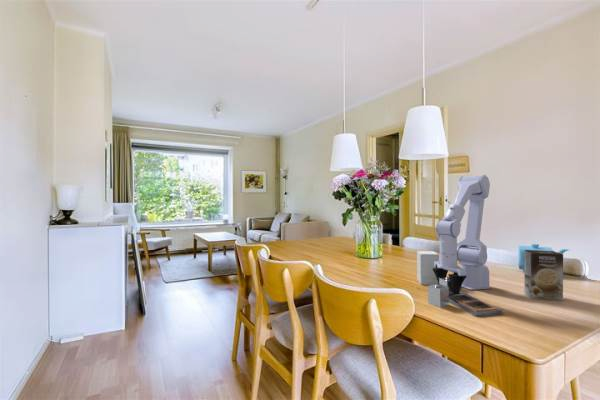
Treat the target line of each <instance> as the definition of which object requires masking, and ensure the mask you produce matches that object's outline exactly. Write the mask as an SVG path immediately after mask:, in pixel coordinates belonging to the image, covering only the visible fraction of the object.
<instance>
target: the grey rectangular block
mask: <svg viewBox="0 0 600 400" xmlns="http://www.w3.org/2000/svg"><path fill="white" fill-rule="evenodd" d="M439 284H441V285H443V286H446V287H449V295H456V294H453V293H452V285H451V281H450V278H449V276H446V277H444V278H439Z"/></svg>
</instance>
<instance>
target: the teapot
mask: <svg viewBox="0 0 600 400" xmlns="http://www.w3.org/2000/svg"><path fill="white" fill-rule="evenodd" d="M517 247H518V248H517V249H518V251H517V252H518V268H519V270H524V271H523V273H524V274H525V250H537V251H554V250H553V249H552V247H549V246H540V244H538V243H531V244H530V245H518V246H517ZM567 251H569V249H566V248H565V249H563V248H561V249H560V250H558V253H561V254H563V255H564V253H565V252H567Z"/></svg>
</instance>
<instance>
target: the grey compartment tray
mask: <svg viewBox="0 0 600 400" xmlns="http://www.w3.org/2000/svg"><path fill="white" fill-rule="evenodd" d="M460 299H462V300H463V299H464V300H463V301H459V300H460ZM449 304H452V305H454V306H455V307H457V308H459V309H460V310H463V311H465V312H466V313H469V314H471V315H472V316H474V317H485V316H495V315H497V316H498V315H503V309H501V308H499V307H497V306H494V305H492V304H489V303H488V302H485V301H483V300H481V299H478V298H476V297H474V296H472V295H470V294H468V293H465V292H463V291H461V290H460V293H459V294H456V295H449ZM478 306H479V307H482V308H479V309H477V308H475V307H478Z"/></svg>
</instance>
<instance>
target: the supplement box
mask: <svg viewBox="0 0 600 400" xmlns="http://www.w3.org/2000/svg"><path fill="white" fill-rule="evenodd" d="M434 261H440V253H437V252H436V251H433V250H432V251H430V250H429V251H427V250H425V251H423V250H420V251H419V250H417V251H416V270H417V271H416V273H417V275H416V276H417V277H416V278H417V281H418V282H419V284H420V285H424V286H430V285H434V284H438V281H437V278H436V275H435V273H434V271H433V268H436V267H435V266H434Z"/></svg>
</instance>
